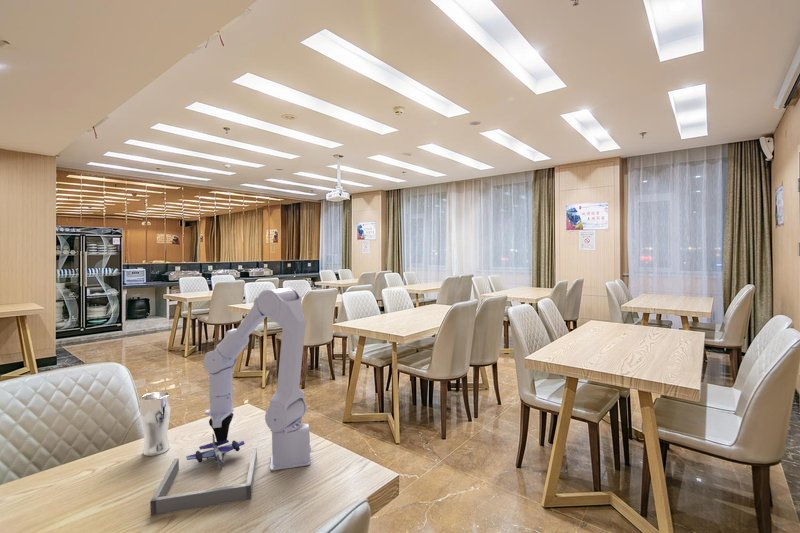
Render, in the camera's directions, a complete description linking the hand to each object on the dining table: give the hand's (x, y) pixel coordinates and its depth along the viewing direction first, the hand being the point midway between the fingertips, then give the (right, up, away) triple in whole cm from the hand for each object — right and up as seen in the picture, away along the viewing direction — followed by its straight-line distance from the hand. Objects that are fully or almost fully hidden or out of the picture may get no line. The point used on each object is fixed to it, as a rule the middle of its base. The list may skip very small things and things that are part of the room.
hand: (222, 443), depth 107 cm
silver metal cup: (-18, -2, 0) cm, 18 cm away
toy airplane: (+2, -2, -7) cm, 8 cm away
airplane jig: (+5, -2, -16) cm, 17 cm away
